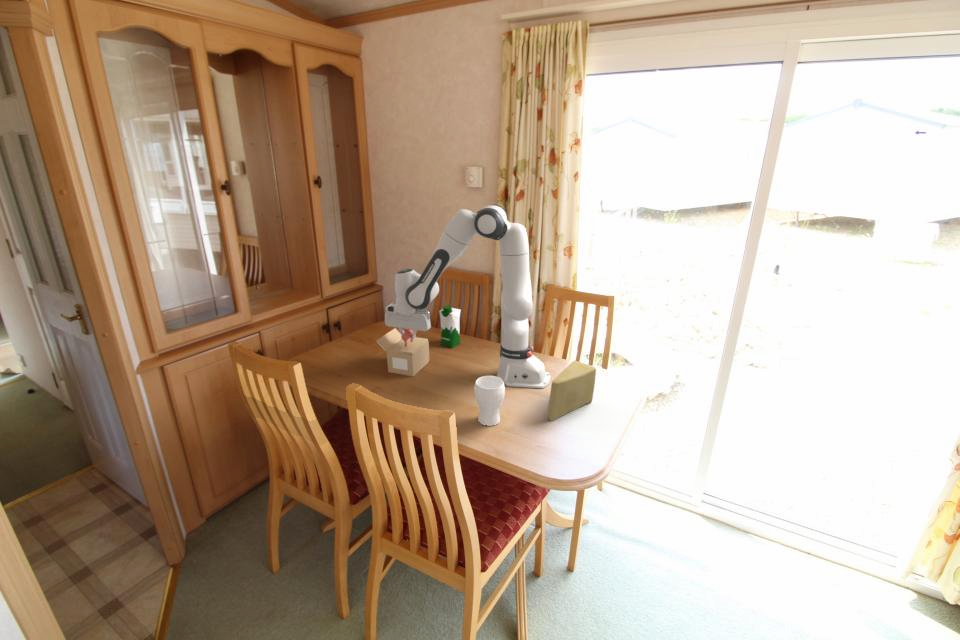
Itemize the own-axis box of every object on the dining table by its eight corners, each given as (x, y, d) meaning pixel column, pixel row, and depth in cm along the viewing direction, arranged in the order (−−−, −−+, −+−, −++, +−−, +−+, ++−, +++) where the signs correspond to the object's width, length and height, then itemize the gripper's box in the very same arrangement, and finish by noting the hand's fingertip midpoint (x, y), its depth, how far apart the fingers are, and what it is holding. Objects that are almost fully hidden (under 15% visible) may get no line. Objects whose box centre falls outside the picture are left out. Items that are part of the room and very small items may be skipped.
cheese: (561, 426, 149) (564, 387, 144) (538, 415, 155) (540, 378, 150) (593, 402, 164) (597, 366, 159) (571, 393, 170) (574, 358, 165)
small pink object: (428, 340, 193) (427, 326, 191) (412, 354, 180) (411, 339, 177) (414, 338, 195) (413, 324, 193) (397, 352, 182) (396, 337, 179)
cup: (467, 419, 152) (467, 381, 147) (488, 408, 159) (489, 372, 154) (489, 432, 145) (489, 393, 140) (510, 420, 152) (511, 382, 147)
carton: (429, 361, 197) (428, 340, 194) (413, 376, 183) (412, 354, 179) (405, 357, 201) (404, 337, 197) (388, 372, 186) (386, 351, 183)
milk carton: (438, 345, 214) (437, 307, 207) (448, 339, 221) (448, 302, 214) (452, 349, 209) (452, 310, 203) (463, 343, 217) (462, 305, 210)
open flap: (386, 350, 183) (385, 351, 184) (403, 337, 197) (402, 338, 197) (377, 340, 183) (375, 341, 183) (395, 327, 197) (394, 328, 197)
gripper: (432, 307, 182) (433, 338, 187) (389, 302, 188) (391, 332, 193) (426, 312, 176) (427, 343, 181) (381, 306, 182) (384, 337, 187)
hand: (408, 337), depth 187 cm, fingers closed on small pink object, 3 cm apart
